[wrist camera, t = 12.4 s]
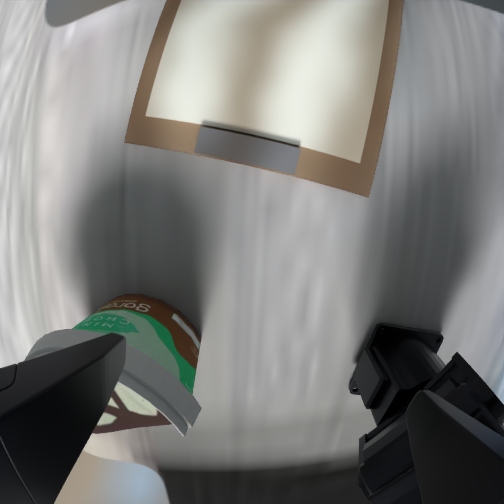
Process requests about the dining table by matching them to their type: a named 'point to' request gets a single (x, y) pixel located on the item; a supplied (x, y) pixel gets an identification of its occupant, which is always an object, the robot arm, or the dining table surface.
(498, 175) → the dining table surface
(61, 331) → the food container
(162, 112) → the clipboard
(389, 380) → the robot arm
